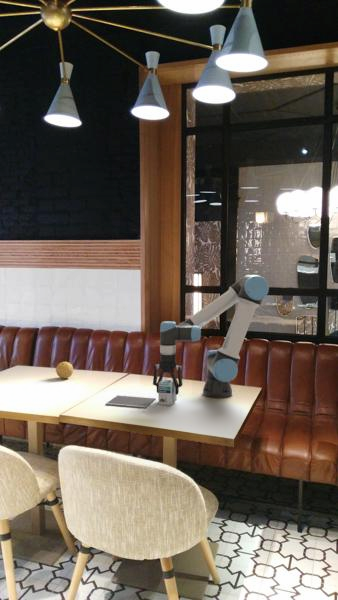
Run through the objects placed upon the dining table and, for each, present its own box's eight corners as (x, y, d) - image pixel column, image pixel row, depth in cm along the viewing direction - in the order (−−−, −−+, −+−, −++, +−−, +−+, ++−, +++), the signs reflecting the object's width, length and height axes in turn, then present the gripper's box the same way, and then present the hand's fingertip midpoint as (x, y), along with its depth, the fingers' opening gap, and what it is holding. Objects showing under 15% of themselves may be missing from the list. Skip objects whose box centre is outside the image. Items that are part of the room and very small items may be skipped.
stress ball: (67, 377, 286) (54, 367, 284) (77, 366, 285) (64, 355, 283) (64, 384, 276) (51, 374, 275) (75, 372, 275) (61, 361, 273)
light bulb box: (172, 405, 226) (172, 383, 225) (158, 404, 227) (158, 382, 227) (176, 399, 237) (176, 378, 236) (163, 398, 238) (163, 377, 237)
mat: (155, 399, 237) (155, 398, 237) (145, 408, 221) (145, 407, 221) (117, 396, 242) (117, 395, 242) (105, 405, 226) (105, 403, 226)
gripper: (189, 353, 232) (189, 399, 233) (150, 351, 237) (150, 396, 238) (186, 355, 224) (185, 403, 226) (145, 353, 229) (145, 400, 231)
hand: (167, 400), depth 232 cm, fingers closed on light bulb box, 7 cm apart
